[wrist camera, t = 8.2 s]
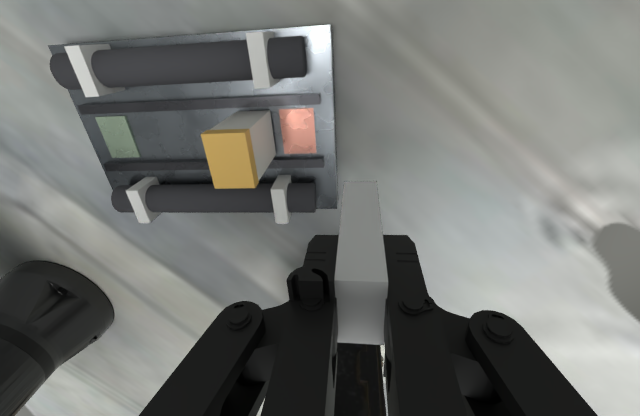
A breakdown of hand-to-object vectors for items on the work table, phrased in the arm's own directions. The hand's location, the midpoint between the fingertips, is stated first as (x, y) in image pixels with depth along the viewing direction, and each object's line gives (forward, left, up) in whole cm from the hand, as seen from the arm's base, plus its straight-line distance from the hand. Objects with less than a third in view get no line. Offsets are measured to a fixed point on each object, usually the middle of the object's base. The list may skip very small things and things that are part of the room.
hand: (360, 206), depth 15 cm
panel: (-14, 0, -16) cm, 21 cm away
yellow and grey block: (-9, 0, -13) cm, 16 cm away
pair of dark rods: (-14, 0, -14) cm, 20 cm away
